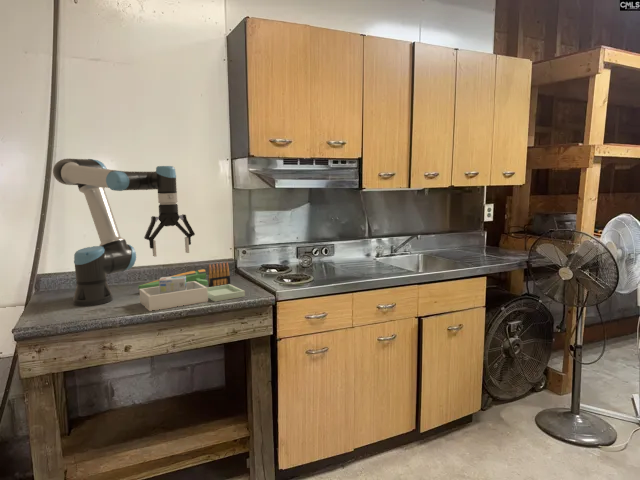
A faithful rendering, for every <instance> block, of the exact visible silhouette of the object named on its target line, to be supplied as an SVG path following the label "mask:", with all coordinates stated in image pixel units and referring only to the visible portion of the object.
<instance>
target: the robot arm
mask: <svg viewBox="0 0 640 480" xmlns="http://www.w3.org/2000/svg"><path fill="white" fill-rule="evenodd" d="M52 173H53V177H54V179H55V180H57V182H58V183H60V184H63V185H68V186H77V188H78V191H79V192H80V193H82V194H83V195H84V197H85V201H86V203H87V206H88V209H89V211H90V215H91V217H92V220H93V224H94V226H95V230H96V232H97V235H98V238H99V241H100V243H99V245H95V246H86V247H83V248H80V249H78V250H76V251H75V252H74V255H73V256H74V257H73V259H74V260H73V264H74V269H75V271H74V272H75V283H76V287H75V292H74V295H73V300H72V301H73V305H74V306H78V307H88V306H89V307H90V306H97V305H99V306H100V305H103V304H107V303H110V302H111V301H113V293H112V291H111V288H110V286H109V284H108V281H107V275H112V274H116V273H121V272H122V273H123V272H125V271H127V270H130V269H132V268H133V267H134V266H135V264H136V263H135V262H136V260H137V254H136V253H137V252H136V249H135V248H134V247H133V245H131V244H127V240H126V239H125V238H123V237H122V236H121V233H120V231H119V229H118V225H117V222H116V219H115V217H114V214H113V210H112V207H111V205H110V202H109V199H108V197H107V194H106V191H105V189H106V188H107V189H110V190H111V191H114V192H115V191H117V192H122V191H123V192H124V191H147V190H148V191H150V190H151V191H152V190H153V191H154V190H157V201H158V216H154V215H152V216H150V223H149V225H148V228H147V230H146V233H145V235H144V237H143V238H144V240H148V241H149V249H152V256H153V257H157V245H156V244H157V243H156V240H155V238H156V237H157V235H158V234H159V233H161V230H162V229H163V228H164V227H174V226H176V227H177V228H178V230H180V231H181V232H182V233H183V235H184V247H185V248H184V250H185V253H186V254H189V253H190V245H192V242H191V241H192V240H191V238H192V237H194V236H195V235H196V234H195V231H194V230H193V228H192V227H191V225H190V223H189V221H188V219H187V215H186V214H179V205H178V191H177V190H178V188H177V173H176V168H175V167H174V166H173V165H159V166H156V167H155V171H125V170H124V171H123V170H117V169H108V168H107V166H106V165H105V164H104V163H103V161H101V160H97V159H91V158H63V159H60V160H59V161H57V162H56V163H54V166H53V168H52ZM179 220H180V221H181V220H182V222H183V224H184V226H185V228H186V229H185V228H184V227H183V226H182V224H181V223H180V222H179ZM158 221H159V224H158V226H157V227H156V228H155V230H154V231H153V229H154V227H155V225H156V222H158Z"/></svg>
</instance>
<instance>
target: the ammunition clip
mask: <svg viewBox="0 0 640 480" xmlns="http://www.w3.org/2000/svg"><path fill="white" fill-rule="evenodd" d="M207 280H208V287H214V286H220V285H227V284H230V285H232V284H231V275H230V268H229V262H228V261H226V263H225V262H224V261H223V262H219V264H218V262H216V265H215V263H212V264H211V263H209V265H208V279H207Z"/></svg>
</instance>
